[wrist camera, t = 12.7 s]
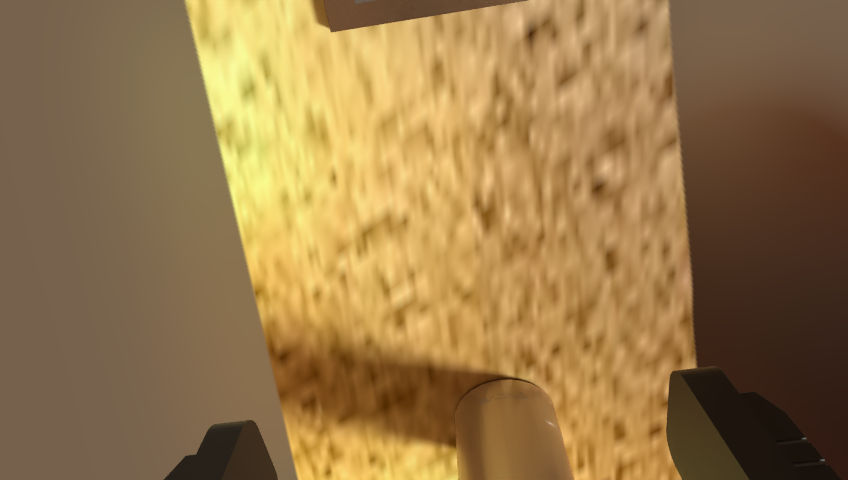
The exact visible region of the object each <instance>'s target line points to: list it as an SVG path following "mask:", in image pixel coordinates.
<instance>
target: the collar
mask: <svg viewBox="0 0 848 480" xmlns="http://www.w3.org/2000/svg"><path fill="white" fill-rule="evenodd" d="M521 1H527V0H324V3H325V8H326V12H327V17H328V21H329V26H330V30H331V32H336V31H342V30H348V29H354V28H361V27H367V26H373V25H379V24H385V23H391V22H398V21H404V20H410V19H416V18H422V17H428V16H435V15H441V14H447V13H453V12H459V11H465V10H472V9H478V8H484V7H490V6H496V5H502V4H508V3H515V2H521Z"/></svg>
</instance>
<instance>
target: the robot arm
mask: <svg viewBox="0 0 848 480" xmlns="http://www.w3.org/2000/svg"><path fill="white" fill-rule="evenodd" d="M455 430H456V446H457V465H458V480H574V477H573V474H572V470H571V467H570V463H569V460H568V456H567V452H566V449H565V445H564V441H563V438H562V434H561V431H560V427H559V424H558V420H557V417H556V413H555V410H554V406H553V403H552V401H551V399H550V398H549V396H548V395H547V394H546V393H545V392H544V391H543V390H542V389H540V388H539V387H537V386H535V385H533V384H531V383H527V382H524V381H519V380H512V379H511V380H497V381H492V382H488V383H485V384H482V385H480V386H478V387H476V388H474V389H473V390H471V391H470V392H469V393H467V394H466V395H465V396H464V397H463V398H462V400H461V401H460V402H459V404H458V406H457V409H456V412H455ZM666 433H667V441H668V446H669V450H670V453H671V456H672V459H673V462H674V464H675V466H676V468H677V470H678V472H679V474H680V476H681V478H682V480H841V478H840V477H839V476H838V475H837V474H836V472H835V471H834V470H833V469H832V468H831V466H830V465H826V463H825V459H824V458H823V457H822V456H821V455H820V453H819V452H818V451H817V450H816V448H815V447H814V446H813V445H812V444H811V443H808V442H807V439H806V436H805V435H804V434H803V433H802V432H801V431H800V429H799V428H798V427H797V426H796V424H794V422H793V421H792V420H791V418H790V417H789V416H788V415H787V414H786V413H785V412H784V411H783V410H781V409H780V408H778V407H777V406H775V405H774V404H772V403H771V402H769V401H768V400H766V399H765V398H764V397H762V396H761V395H759V394H758V393H756V392H748V393H739V392H738V391H737V390H736V388H735V387H734V386H733V384H732V383H731V382H730V380H729V379H728V378H727V377H726V375H725V374H724V373H723V372H722V370H721V369H719V368H718V367H716V366H712V367H703V368H694V369H686V370H678V371H673V372H672V373H671V375H670V381H669V396H668V412H667V427H666ZM164 480H278V479H277V474H276V471H275V468H274V466H273V463H272V461H271V458H270V456H269V453H268V451H267V448H266V446H265V443H264V441H263V439H262V436H261V434H260V432H259V429H258V426H257V425H256V423H255V422H254V421H252V420H247V421H239V422H230V423H222V424H215V425H212V426H211V427H210V428H209V430H208V431H207V433H206V435H205V437H204V439H203V441H202V443H201V445H200V448H199V449H198V452H197V454H196V455H189V456H185V457H184V458H183V460H182V461H181V462H180V463H179V464H178V465H177V466H176V467H175V468H174V469H173V471H172V472H171V473H170V474H169V475H168V476H167V477H166V478H165V479H164Z"/></svg>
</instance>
